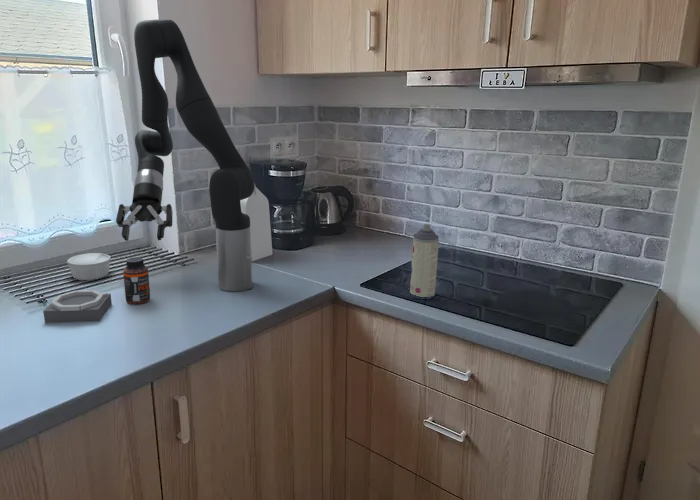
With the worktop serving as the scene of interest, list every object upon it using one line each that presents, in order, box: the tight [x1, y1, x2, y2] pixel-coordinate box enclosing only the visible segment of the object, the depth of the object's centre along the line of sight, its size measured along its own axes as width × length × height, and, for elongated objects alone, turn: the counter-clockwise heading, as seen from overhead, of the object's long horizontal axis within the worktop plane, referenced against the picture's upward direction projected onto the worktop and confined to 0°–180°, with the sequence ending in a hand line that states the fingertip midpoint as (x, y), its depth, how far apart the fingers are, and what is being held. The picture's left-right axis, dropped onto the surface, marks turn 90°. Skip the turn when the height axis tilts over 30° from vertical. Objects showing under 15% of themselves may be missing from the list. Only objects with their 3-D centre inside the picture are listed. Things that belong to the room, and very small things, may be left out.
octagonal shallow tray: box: [42, 289, 113, 324], centre depth 128 cm, size 12×10×4 cm
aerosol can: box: [409, 223, 440, 297], centre depth 142 cm, size 7×7×20 cm
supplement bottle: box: [122, 256, 151, 305], centre depth 135 cm, size 6×6×11 cm
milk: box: [240, 182, 273, 262], centre depth 172 cm, size 12×12×26 cm
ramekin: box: [66, 252, 112, 281], centre depth 153 cm, size 11×11×5 cm
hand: (142, 239), depth 142 cm, fingers open, 8 cm apart
